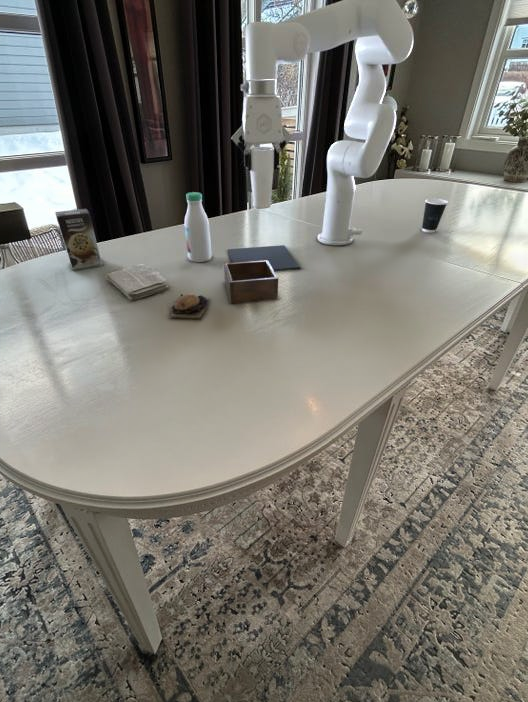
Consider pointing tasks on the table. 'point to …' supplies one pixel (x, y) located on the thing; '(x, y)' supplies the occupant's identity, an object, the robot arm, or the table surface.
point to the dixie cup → (433, 214)
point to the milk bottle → (197, 229)
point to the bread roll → (189, 306)
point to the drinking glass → (261, 176)
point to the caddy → (250, 281)
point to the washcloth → (137, 281)
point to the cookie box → (79, 238)
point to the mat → (265, 256)
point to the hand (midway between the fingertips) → (261, 168)
